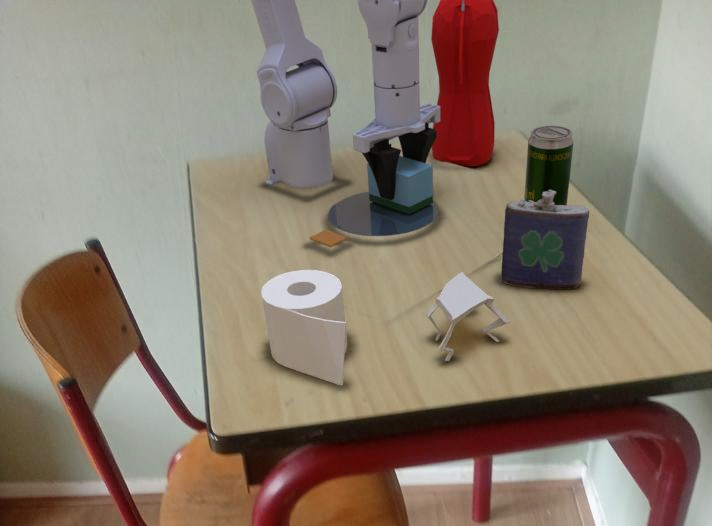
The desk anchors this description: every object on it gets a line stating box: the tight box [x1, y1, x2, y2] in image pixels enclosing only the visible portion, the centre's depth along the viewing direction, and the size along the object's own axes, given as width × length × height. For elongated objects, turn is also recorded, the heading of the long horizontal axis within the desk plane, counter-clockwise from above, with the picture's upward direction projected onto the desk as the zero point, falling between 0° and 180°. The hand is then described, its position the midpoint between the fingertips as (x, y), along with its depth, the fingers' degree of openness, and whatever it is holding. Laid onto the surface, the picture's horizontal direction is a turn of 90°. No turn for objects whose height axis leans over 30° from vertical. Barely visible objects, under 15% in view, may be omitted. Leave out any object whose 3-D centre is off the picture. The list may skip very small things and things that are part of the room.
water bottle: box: [430, 0, 500, 167], centre depth 115 cm, size 9×11×25 cm
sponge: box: [366, 155, 434, 214], centre depth 108 cm, size 8×5×5 cm, turn 47°
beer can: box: [523, 125, 574, 206], centre depth 100 cm, size 5×5×12 cm
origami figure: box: [426, 271, 511, 362], centre depth 85 cm, size 12×8×5 cm
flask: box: [501, 190, 590, 290], centre depth 90 cm, size 9×3×11 cm, turn 74°
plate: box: [327, 191, 440, 237], centre depth 109 cm, size 15×15×1 cm
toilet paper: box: [260, 269, 348, 387], centre depth 83 cm, size 8×11×7 cm
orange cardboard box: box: [308, 229, 348, 248], centre depth 103 cm, size 4×3×1 cm
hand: (400, 191), depth 109 cm, fingers closed on sponge, 5 cm apart
